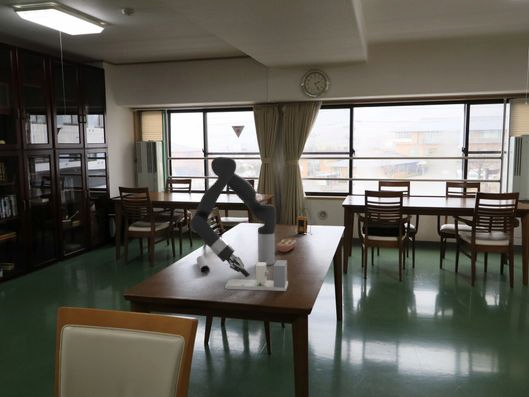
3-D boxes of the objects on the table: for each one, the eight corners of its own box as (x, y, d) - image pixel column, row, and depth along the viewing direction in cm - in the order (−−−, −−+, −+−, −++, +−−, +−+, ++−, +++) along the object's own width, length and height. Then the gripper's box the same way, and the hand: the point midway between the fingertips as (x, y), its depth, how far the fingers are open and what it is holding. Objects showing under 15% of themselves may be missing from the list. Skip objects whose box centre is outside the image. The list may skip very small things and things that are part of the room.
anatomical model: (284, 245, 294) (283, 238, 294) (298, 246, 291) (298, 238, 291) (274, 253, 272) (274, 245, 272) (290, 254, 270) (290, 246, 269)
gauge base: (230, 282, 214) (229, 258, 213) (288, 284, 210) (288, 260, 208) (225, 288, 204) (224, 264, 203) (285, 290, 200) (285, 266, 199)
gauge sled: (258, 280, 210) (258, 262, 209) (269, 281, 209) (268, 262, 208) (255, 285, 202) (255, 266, 201) (266, 286, 201) (266, 266, 200)
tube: (194, 256, 250) (198, 267, 226) (203, 253, 251) (208, 263, 227) (197, 265, 251) (202, 277, 227) (206, 261, 252) (211, 273, 228)
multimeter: (315, 233, 335) (315, 206, 332) (309, 235, 326) (309, 208, 324) (298, 231, 343) (298, 205, 340) (292, 233, 334) (292, 207, 332)
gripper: (224, 247, 200) (251, 274, 200) (230, 241, 213) (256, 266, 213) (213, 258, 202) (239, 285, 201) (220, 251, 215) (245, 277, 214)
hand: (248, 275), depth 207 cm, fingers closed
